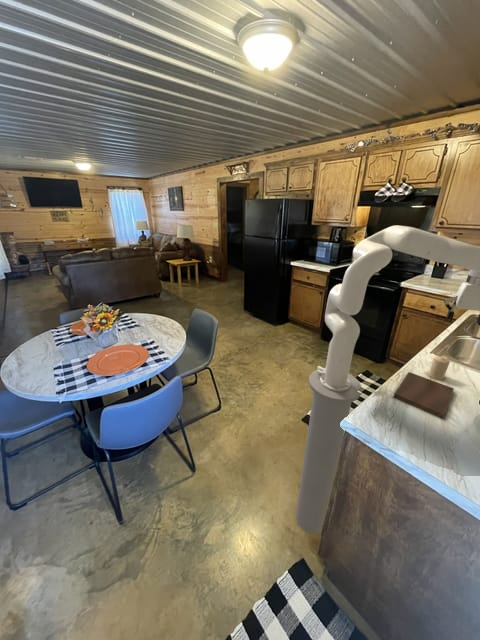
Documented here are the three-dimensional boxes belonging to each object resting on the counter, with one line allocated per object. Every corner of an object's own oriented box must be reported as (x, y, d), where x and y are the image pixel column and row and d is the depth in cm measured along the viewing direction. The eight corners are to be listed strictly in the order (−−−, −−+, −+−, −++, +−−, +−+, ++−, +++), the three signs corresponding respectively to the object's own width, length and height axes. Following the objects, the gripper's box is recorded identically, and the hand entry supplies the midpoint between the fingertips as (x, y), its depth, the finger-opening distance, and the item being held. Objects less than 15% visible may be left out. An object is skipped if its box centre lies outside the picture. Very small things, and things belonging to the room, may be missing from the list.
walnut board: (393, 397, 103) (394, 393, 102) (407, 375, 116) (408, 371, 115) (442, 418, 92) (444, 414, 92) (452, 391, 105) (453, 388, 105)
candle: (441, 381, 112) (449, 361, 107) (426, 375, 115) (433, 356, 111) (444, 376, 115) (452, 356, 111) (430, 370, 119) (437, 351, 115)
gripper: (504, 280, 99) (486, 322, 106) (449, 276, 105) (436, 315, 112) (513, 286, 93) (494, 329, 100) (454, 281, 99) (440, 322, 106)
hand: (463, 322), depth 106 cm, fingers open, 9 cm apart
